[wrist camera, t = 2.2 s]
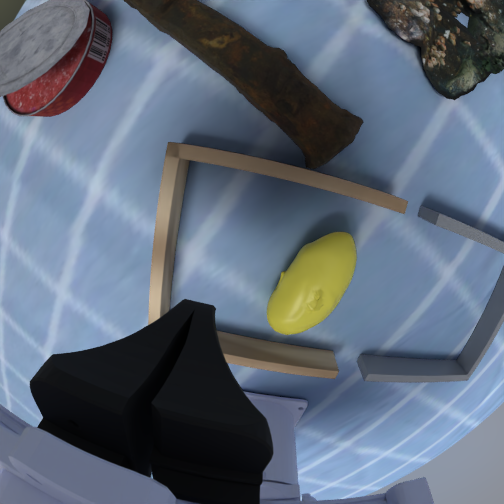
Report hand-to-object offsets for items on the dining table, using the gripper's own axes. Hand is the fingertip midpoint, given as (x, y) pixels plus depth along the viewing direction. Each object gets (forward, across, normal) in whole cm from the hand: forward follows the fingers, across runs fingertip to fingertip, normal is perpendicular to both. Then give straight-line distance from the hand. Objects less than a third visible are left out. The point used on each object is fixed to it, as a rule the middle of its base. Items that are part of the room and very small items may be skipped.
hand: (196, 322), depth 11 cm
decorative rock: (+9, -12, -25) cm, 29 cm away
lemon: (+8, -6, 0) cm, 10 cm away
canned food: (+8, +16, -13) cm, 22 cm away
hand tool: (+8, +3, -13) cm, 16 cm away
